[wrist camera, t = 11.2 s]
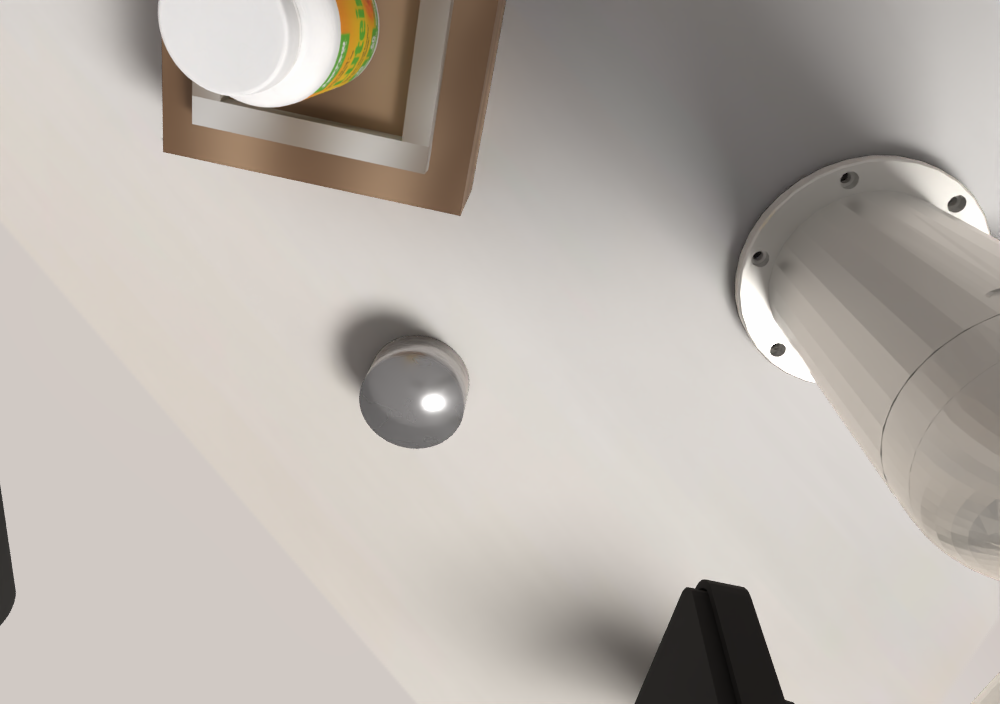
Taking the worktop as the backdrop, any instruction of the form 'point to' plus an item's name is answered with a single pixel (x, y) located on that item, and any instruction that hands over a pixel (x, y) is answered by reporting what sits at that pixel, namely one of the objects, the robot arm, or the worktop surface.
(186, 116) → the walnut stand
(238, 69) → the supplement bottle
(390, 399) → the metal tin
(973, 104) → the worktop surface
